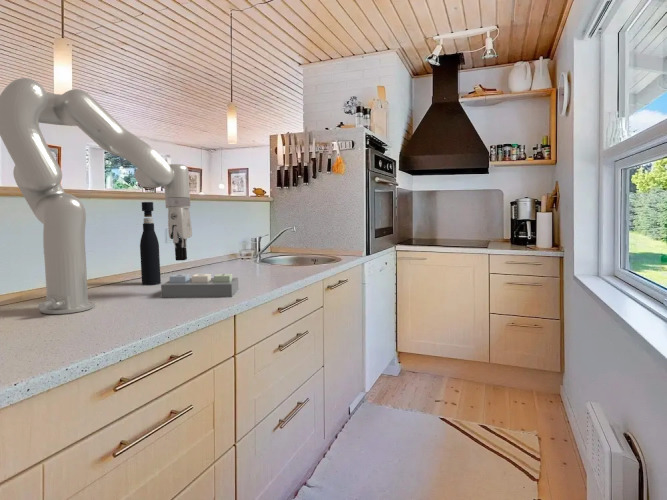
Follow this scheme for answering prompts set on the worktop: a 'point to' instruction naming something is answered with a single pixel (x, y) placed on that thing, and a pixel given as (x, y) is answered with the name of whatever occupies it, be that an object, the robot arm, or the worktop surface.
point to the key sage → (222, 278)
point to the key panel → (199, 289)
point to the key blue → (180, 278)
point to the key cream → (201, 278)
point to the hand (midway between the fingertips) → (181, 259)
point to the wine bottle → (149, 249)
